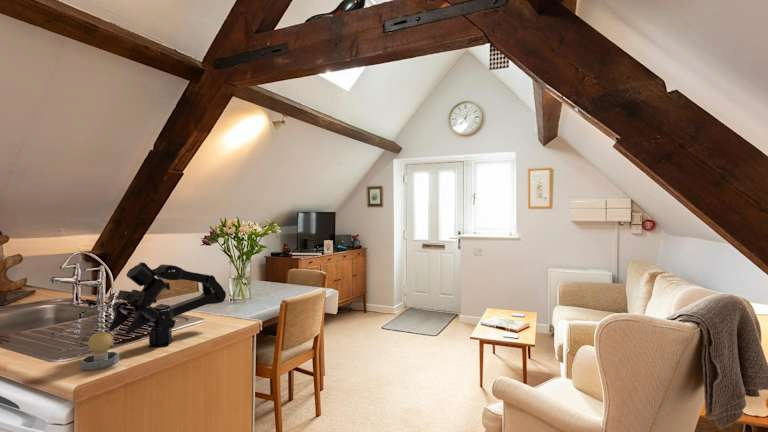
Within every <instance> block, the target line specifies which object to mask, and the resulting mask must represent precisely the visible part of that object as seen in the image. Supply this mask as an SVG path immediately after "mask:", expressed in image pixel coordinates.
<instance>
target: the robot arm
mask: <svg viewBox="0 0 768 432" xmlns="http://www.w3.org/2000/svg"><path fill="white" fill-rule="evenodd" d="M126 277H127V278H128V279H129V280H130V281H132V282H133V283H134V284H136V286H137V285H138V286H139V287H143V288H141V290H137V289H131V291H128V290H123V289H122V290H121V289H120V290H119V292H118V293H117V296H116V300H119V301H115V302H114V303H113V305H112V306H111V308H112V311H113V314H114V316H113V318H112V321H111V324H110V326H109V328H108V331H109V332H111V333H112V332H113V331H115V330H116V329H117V328H119V327H120V326H121V325H123V324H124V323H125V322H126V321H127V320H129V319H130V318H131V317H130V316H132V315H133V314H134V318H133V320H132V321H131V323H130V324H129V325H128V327H127V328H126V330H125V333H124V334H125V335H126V336H128V335H130V334H132V333H134V332H135V331H136V330H138V329H140V328H142V327H143V326H147V328H148V329H150V332H149V333H148V343H149V345H148V348H156V347H159V348H160V347H168V346H169V345H170V344H171V343H172V342H173V341H174V339H173V337H172V336H173V334H172V333H173V331H172V329H173V328H175V325H176V321H175V320H174V318H175V317H177V316H181V315H183V314H185V313H188V312H190V311H193V310H195V309H199V308H201V307H204V306H206V305H216V304H219V303H220V304H221V303H223V302H225V299H226V297H227V293H226V290H224V288H223V286H222V285H221V284H220V283H219V282H218V281H217V279H216V278H215V276H214V275H213V274H206V273H200V272H194V271H189V270H186V269H183V268H182V267H179V266H177V265H174V264H160V265H158V267H156V268H153V269H152V268H150V267H149V266H148V264H146V263H145V262H143V261H142V262H139V263H138V264H136V265H135V266H133V267H131V268H130V269H129V270H128V271H127V272H126ZM164 280H166V281H181V280H182V281H189V282H194V283H198V284H199V283H200V284H201V287H202V288H201V290H202V293H201V294H200V295H198V296H194V297H193V298H190V299H186V300H184V301H183V300H182V301H181V302H178V303H176V304H172V305H169V304H164V303H162V304H161V303H160V304H159V303H158V304H157V305H156V306H152V304H156V303H157V302H158V300H157V298H158V297H159V295H160V294H161V293H162V292H163V290H164V291H171V286H170V282H165V281H164Z"/></svg>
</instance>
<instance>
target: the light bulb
mask: <svg viewBox="0 0 768 432" xmlns="http://www.w3.org/2000/svg"><path fill="white" fill-rule="evenodd" d="M113 342H114V341H113V336H112V334H111V333H110V332H108V331H98V332H95V333H93V334H92V335H91V336H90V337H89V339H88V342H87V344H88V345H87V346H88V348H89V349H90V351H91V352H93V353H94V354H93V355H94V362H100V361H103V360H107V359H108V352H109V351H108V350H109V348H110V347H111V346H112V344H113Z"/></svg>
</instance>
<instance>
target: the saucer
mask: <svg viewBox="0 0 768 432" xmlns="http://www.w3.org/2000/svg"><path fill="white" fill-rule="evenodd" d="M107 352H108V359H107V360H103V361H100V362H94V354H90V355H88V356H85V357H84V358H83V359H82V358H81V360H79V367H80V368H81V370H82V371H97V370H102V369H106V368H110V367H112V366H114V365H116V364H117V363H118V362H119V360H120V353H119V352H116V351H107Z"/></svg>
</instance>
